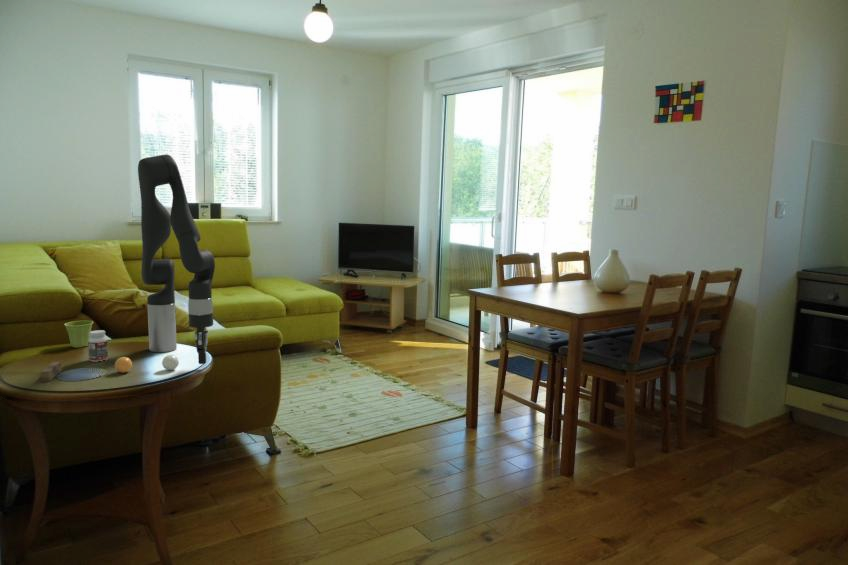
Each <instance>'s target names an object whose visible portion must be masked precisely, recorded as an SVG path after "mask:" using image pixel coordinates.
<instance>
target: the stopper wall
mask: <svg viewBox="0 0 848 565" xmlns="http://www.w3.org/2000/svg"><path fill="white" fill-rule="evenodd" d="M61 371H62V362H61V361H59V360H58V361H53V362H52V363H51V364H49V365H48V366H47V367H46V368H44V369H43V370H42V371H41V372H40V373H41V375H40V376H41V383H47V382H51V381H52V380H53V379H54V378H56V376H57V375H58V374H60V373H61Z"/></svg>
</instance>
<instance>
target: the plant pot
mask: <svg viewBox="0 0 848 565" xmlns="http://www.w3.org/2000/svg"><path fill="white" fill-rule="evenodd" d="M93 324H94V321H93V320H75V321H70V322H66V323H64V327H65V328H66V331H67V334H68V339H69V342H70V346H71V347H72V348H76V349H77V348H79V349H80V348H83V347H89V346H88V340H89V339H90V338H91V336H90V332H91V331H92V327H93Z"/></svg>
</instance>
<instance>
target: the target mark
mask: <svg viewBox="0 0 848 565" xmlns="http://www.w3.org/2000/svg"><path fill="white" fill-rule="evenodd" d="M89 368H91V369H92V371H91V369H90V372H89ZM93 368H94V369H93ZM95 368H96V371H95ZM97 368H98V371H99V368H100V367H83V368H82V367H81V368H75V369H69V370H65V371H63V372H59V373H58V374H57V375H56V376H55V378H56V380H58V381H63V382H80V380H83V381H88V380H87V379H90V380H93V379H92V378H94V379H97V378H96V377H98V378H100V377H99V374H100V375H101V373H102V371H99V374H98V371H97ZM93 370H94V371H93ZM91 372H92V373H91ZM100 372H101V373H100ZM104 374H105V373H104ZM104 374H102V375H103V376H105V375H106V374H108V370H107V371H106V374H105V375H104ZM90 375H91V376H90ZM95 375H96V376H95ZM102 375H101V377H103V376H102ZM88 376H89V377H88Z"/></svg>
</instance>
